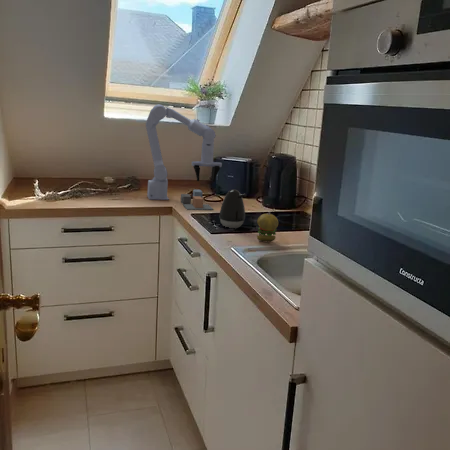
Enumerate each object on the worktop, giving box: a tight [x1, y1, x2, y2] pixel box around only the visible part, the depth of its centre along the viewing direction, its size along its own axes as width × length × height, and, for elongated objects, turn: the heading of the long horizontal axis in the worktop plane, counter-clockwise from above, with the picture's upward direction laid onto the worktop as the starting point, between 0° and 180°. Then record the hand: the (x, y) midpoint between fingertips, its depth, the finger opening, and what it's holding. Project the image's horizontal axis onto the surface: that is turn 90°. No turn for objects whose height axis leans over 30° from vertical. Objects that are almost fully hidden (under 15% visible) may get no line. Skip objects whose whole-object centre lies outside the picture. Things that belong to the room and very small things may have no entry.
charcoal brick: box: [180, 193, 192, 205], centre depth 228 cm, size 4×6×4 cm, turn 17°
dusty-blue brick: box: [192, 189, 203, 198], centre depth 241 cm, size 4×6×4 cm, turn 13°
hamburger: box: [256, 211, 279, 243], centre depth 175 cm, size 8×7×12 cm
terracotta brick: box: [191, 195, 204, 208], centre depth 221 cm, size 4×6×4 cm, turn 15°
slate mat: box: [182, 203, 214, 211], centre depth 221 cm, size 12×9×1 cm
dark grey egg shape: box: [219, 189, 247, 229], centre depth 192 cm, size 10×10×15 cm
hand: (205, 181), depth 236 cm, fingers open, 7 cm apart
